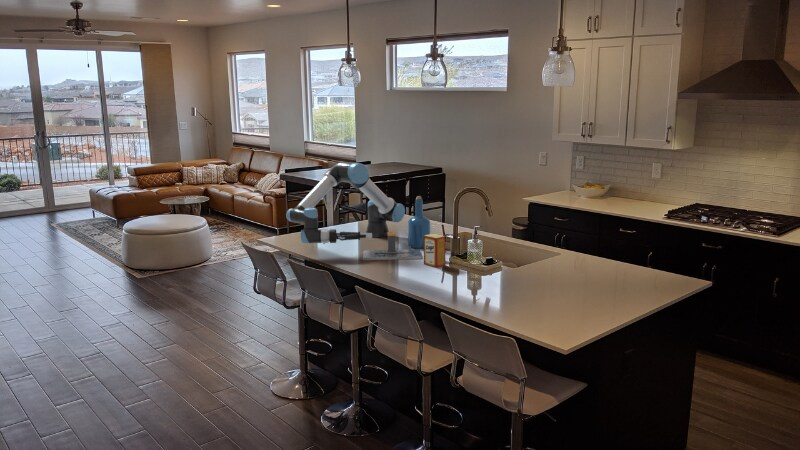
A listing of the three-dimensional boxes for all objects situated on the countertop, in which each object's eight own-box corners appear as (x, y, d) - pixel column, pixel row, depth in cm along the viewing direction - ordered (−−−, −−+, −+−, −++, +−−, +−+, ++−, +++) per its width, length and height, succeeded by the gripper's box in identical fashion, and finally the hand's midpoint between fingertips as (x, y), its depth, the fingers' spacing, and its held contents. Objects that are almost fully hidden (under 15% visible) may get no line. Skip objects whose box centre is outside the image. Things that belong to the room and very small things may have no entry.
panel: (363, 253, 363) (363, 250, 362) (419, 251, 364) (419, 249, 363) (362, 260, 347) (362, 257, 347) (421, 258, 348) (421, 256, 348)
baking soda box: (423, 264, 337) (423, 234, 334) (432, 262, 341) (432, 232, 338) (436, 267, 330) (436, 237, 327) (445, 265, 334) (445, 235, 331)
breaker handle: (386, 251, 357) (385, 232, 355) (397, 251, 357) (396, 231, 355) (386, 253, 353) (386, 233, 351) (397, 253, 353) (396, 233, 351)
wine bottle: (431, 249, 370) (430, 198, 364) (408, 249, 370) (407, 198, 364) (430, 243, 383) (430, 194, 377) (408, 243, 384) (407, 194, 378)
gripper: (330, 240, 359) (372, 239, 359) (328, 245, 346) (371, 244, 347) (329, 227, 357) (371, 226, 358) (328, 231, 344) (371, 231, 345)
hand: (371, 235), depth 352 cm, fingers closed
